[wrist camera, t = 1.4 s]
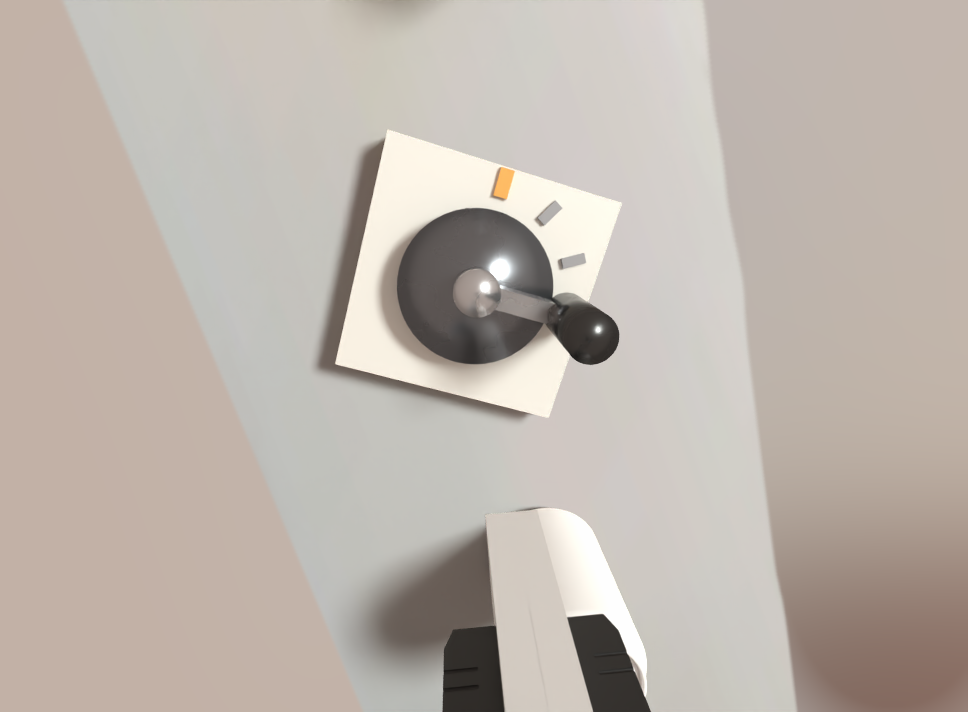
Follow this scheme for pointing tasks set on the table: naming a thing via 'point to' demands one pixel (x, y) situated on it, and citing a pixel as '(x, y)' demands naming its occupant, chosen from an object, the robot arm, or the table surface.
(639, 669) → the beverage can
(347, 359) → the dial board
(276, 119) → the table surface
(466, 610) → the table surface
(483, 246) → the dial
